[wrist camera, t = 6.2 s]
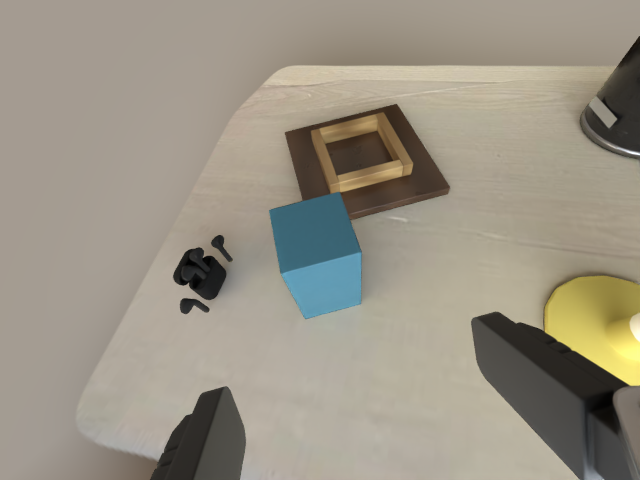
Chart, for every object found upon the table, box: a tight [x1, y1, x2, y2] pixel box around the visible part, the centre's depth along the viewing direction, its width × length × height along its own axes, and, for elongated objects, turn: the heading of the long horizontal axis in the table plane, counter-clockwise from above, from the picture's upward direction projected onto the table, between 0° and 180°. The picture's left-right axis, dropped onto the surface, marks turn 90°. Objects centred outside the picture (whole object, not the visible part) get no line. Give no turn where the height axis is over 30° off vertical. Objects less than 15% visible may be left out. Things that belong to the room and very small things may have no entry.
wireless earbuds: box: [173, 235, 233, 314], centre depth 25 cm, size 7×2×5 cm, turn 165°
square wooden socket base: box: [285, 104, 450, 220], centre depth 32 cm, size 14×14×2 cm
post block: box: [269, 192, 362, 319], centre depth 22 cm, size 5×5×9 cm
